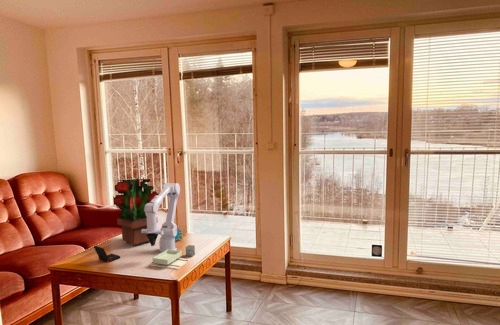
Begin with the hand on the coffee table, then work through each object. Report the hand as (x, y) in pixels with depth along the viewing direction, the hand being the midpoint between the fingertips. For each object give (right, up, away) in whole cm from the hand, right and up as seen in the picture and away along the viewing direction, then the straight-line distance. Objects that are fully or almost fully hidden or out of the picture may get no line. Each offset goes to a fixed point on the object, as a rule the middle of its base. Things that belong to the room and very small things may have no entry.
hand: (152, 245), depth 200 cm
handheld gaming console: (-29, -10, +4) cm, 31 cm away
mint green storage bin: (+10, -10, -3) cm, 14 cm away
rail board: (+11, -10, -3) cm, 15 cm away
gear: (+5, -6, +40) cm, 40 cm away
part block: (+21, -8, +8) cm, 24 cm away
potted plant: (-21, -7, +36) cm, 42 cm away
